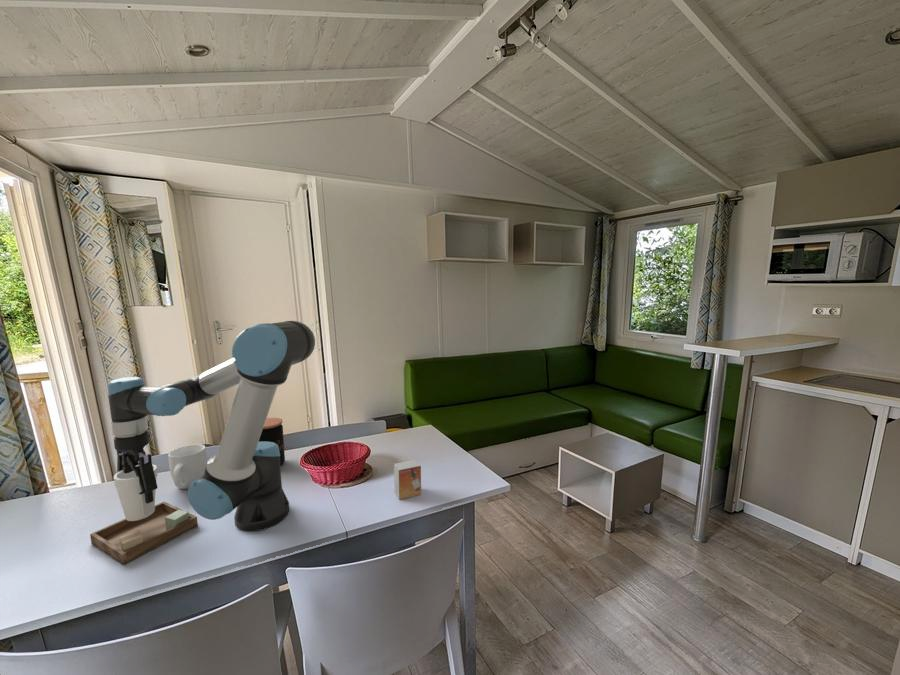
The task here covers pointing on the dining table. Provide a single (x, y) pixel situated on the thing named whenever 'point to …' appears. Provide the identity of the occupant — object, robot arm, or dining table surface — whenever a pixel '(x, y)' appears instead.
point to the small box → (407, 479)
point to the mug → (187, 464)
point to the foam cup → (131, 494)
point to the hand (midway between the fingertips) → (139, 507)
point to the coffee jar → (274, 435)
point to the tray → (150, 531)
